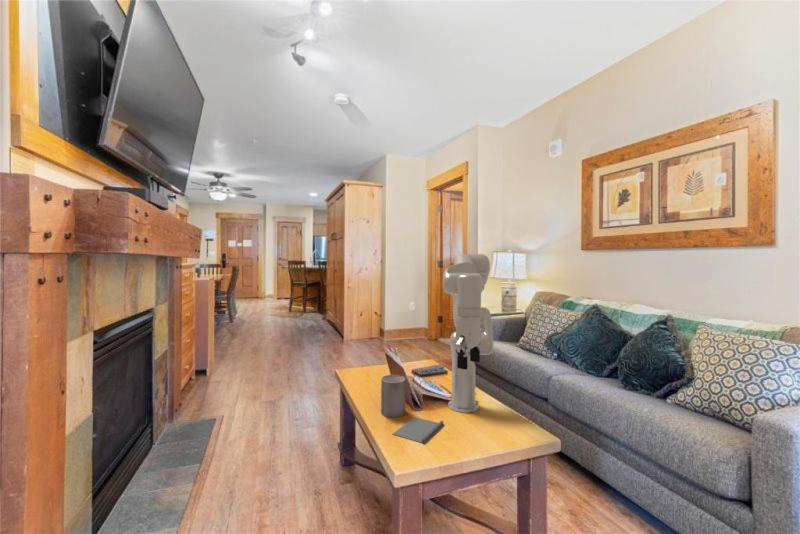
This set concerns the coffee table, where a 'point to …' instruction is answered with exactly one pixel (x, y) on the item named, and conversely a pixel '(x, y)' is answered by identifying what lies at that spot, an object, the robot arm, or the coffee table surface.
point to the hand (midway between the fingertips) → (468, 364)
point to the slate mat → (419, 430)
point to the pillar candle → (393, 395)
